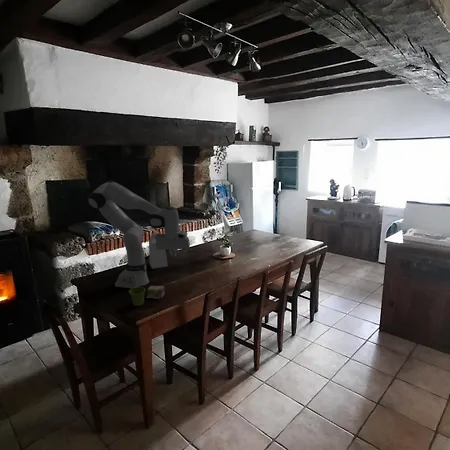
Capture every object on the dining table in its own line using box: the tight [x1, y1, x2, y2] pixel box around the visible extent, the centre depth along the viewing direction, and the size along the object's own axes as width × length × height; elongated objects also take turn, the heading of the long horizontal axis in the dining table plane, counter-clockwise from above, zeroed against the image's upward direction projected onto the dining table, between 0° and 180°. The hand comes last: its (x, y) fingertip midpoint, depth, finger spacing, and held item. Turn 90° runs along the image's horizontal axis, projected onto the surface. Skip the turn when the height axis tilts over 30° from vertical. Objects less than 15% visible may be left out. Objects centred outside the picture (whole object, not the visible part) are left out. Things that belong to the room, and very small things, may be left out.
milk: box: [148, 232, 169, 270], centre depth 254 cm, size 12×12×26 cm
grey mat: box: [145, 295, 162, 300], centre depth 203 cm, size 9×8×1 cm
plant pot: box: [128, 286, 146, 307], centre depth 193 cm, size 9×9×9 cm
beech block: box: [147, 285, 166, 298], centre depth 203 cm, size 5×5×9 cm
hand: (173, 256), depth 197 cm, fingers closed
